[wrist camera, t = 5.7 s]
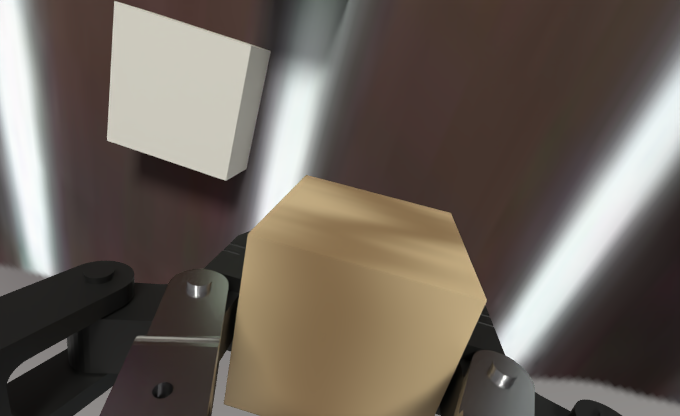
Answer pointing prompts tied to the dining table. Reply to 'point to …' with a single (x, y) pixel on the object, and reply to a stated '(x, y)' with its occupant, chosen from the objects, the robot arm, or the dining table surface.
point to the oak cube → (350, 306)
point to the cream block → (183, 92)
